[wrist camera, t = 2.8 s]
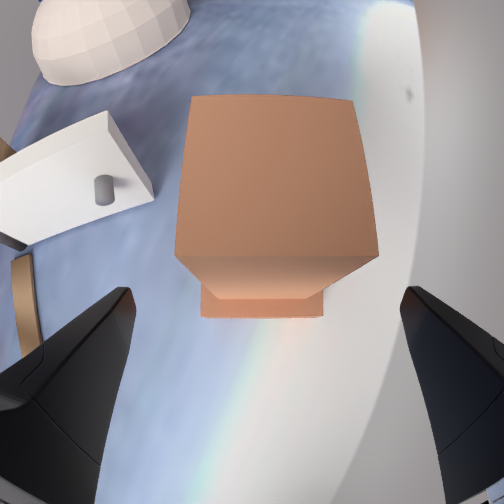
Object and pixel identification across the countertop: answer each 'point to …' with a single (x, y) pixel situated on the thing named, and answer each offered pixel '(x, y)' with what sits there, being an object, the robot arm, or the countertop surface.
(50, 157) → the door
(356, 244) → the tan square pedestal
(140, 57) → the kettle
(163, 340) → the countertop surface
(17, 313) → the door frame
